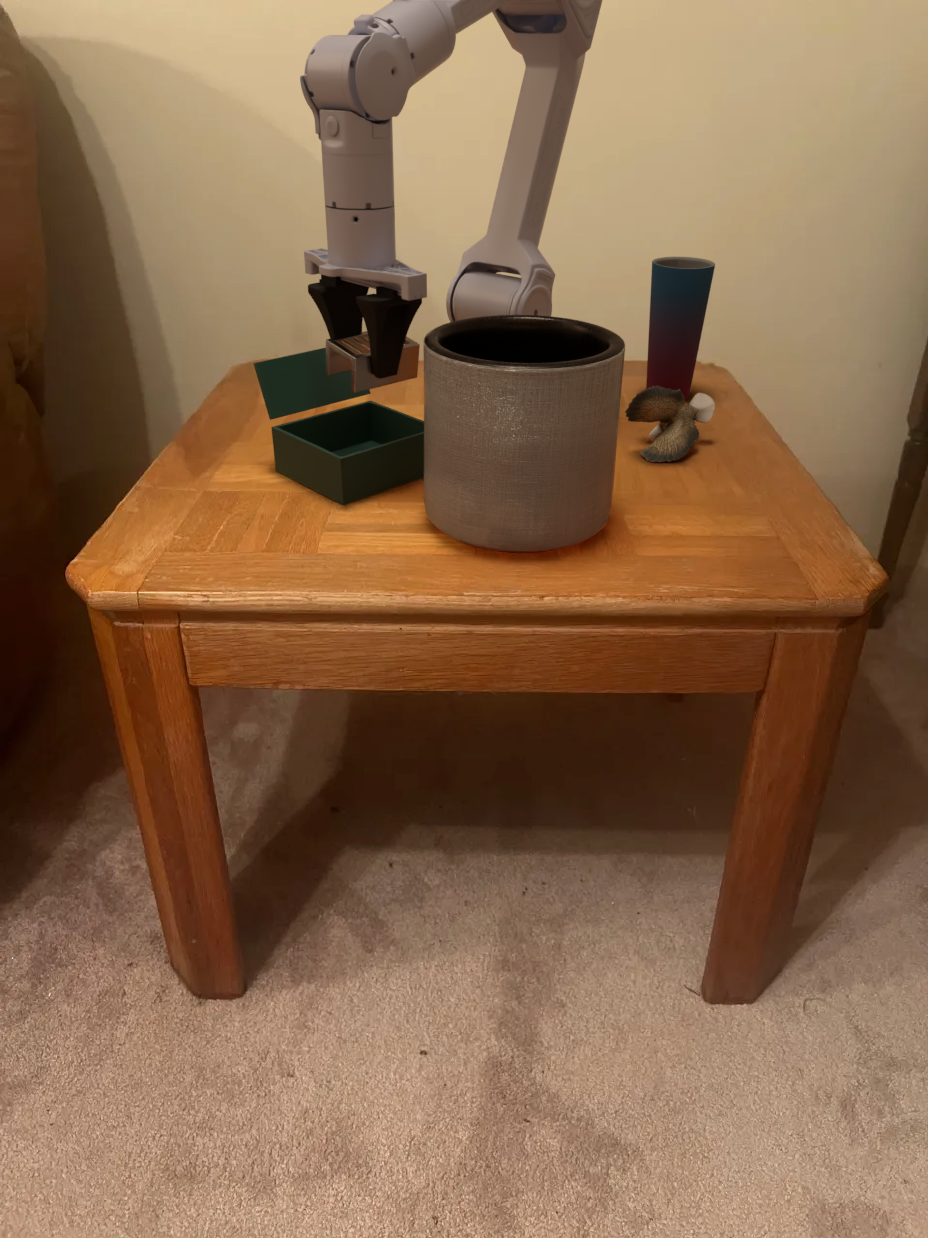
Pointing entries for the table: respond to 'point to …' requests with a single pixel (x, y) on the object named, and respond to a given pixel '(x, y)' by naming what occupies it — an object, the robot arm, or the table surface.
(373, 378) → the rack
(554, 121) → the robot arm
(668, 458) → the mushroom cluster
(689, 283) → the cup
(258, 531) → the table surface
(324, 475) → the green box
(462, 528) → the planter
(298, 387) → the lid
